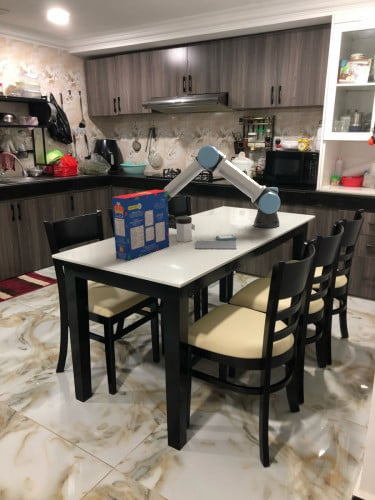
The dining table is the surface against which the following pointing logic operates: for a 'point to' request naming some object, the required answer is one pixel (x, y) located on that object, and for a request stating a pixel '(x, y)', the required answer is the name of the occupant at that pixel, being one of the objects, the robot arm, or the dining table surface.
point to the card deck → (225, 238)
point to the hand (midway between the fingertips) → (191, 227)
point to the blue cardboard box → (140, 223)
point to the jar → (184, 228)
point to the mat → (215, 245)
